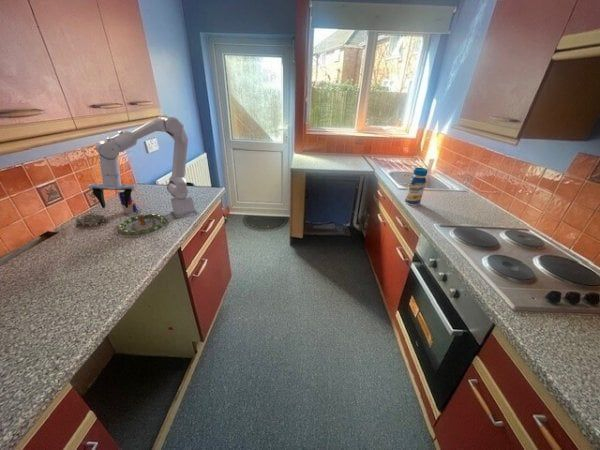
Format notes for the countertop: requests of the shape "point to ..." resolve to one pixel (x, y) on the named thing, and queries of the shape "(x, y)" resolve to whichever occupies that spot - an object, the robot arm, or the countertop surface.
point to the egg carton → (93, 220)
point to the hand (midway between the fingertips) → (115, 207)
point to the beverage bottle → (416, 186)
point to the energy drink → (131, 203)
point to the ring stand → (141, 220)
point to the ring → (126, 232)
